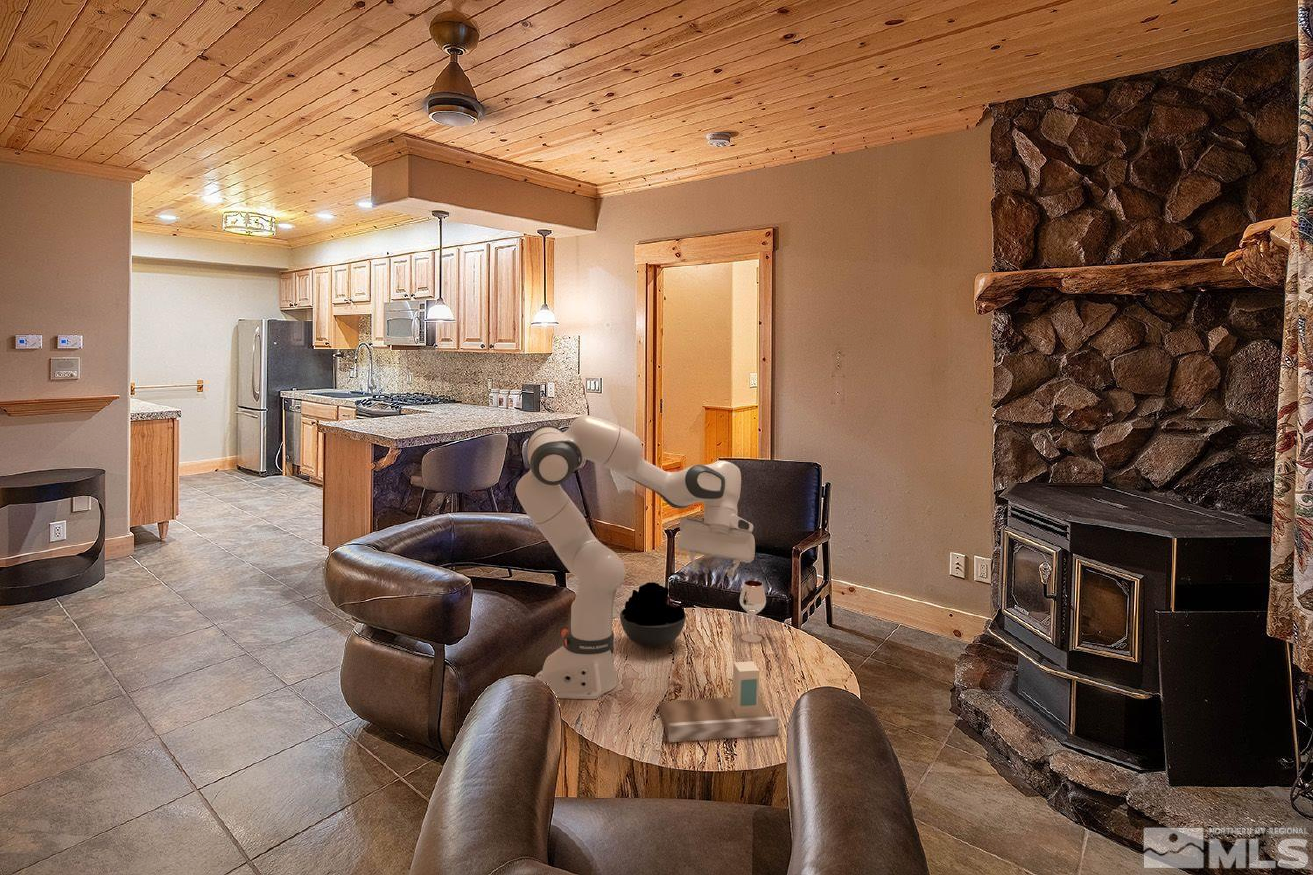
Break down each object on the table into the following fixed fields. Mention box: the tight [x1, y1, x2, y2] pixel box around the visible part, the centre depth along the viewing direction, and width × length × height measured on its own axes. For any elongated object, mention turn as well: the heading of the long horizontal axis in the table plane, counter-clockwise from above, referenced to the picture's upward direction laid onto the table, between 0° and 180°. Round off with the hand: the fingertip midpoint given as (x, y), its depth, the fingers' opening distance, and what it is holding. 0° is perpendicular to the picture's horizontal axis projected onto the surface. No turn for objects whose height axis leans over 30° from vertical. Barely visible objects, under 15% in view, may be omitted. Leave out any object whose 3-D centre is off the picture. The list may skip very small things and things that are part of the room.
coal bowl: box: [619, 581, 687, 650], centre depth 212 cm, size 20×20×19 cm
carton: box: [731, 660, 760, 719], centre depth 170 cm, size 5×5×12 cm
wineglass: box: [739, 580, 767, 644], centre depth 219 cm, size 8×8×18 cm
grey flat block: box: [658, 695, 779, 743], centre depth 170 cm, size 26×16×4 cm, turn 99°
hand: (712, 573), depth 181 cm, fingers open, 8 cm apart
